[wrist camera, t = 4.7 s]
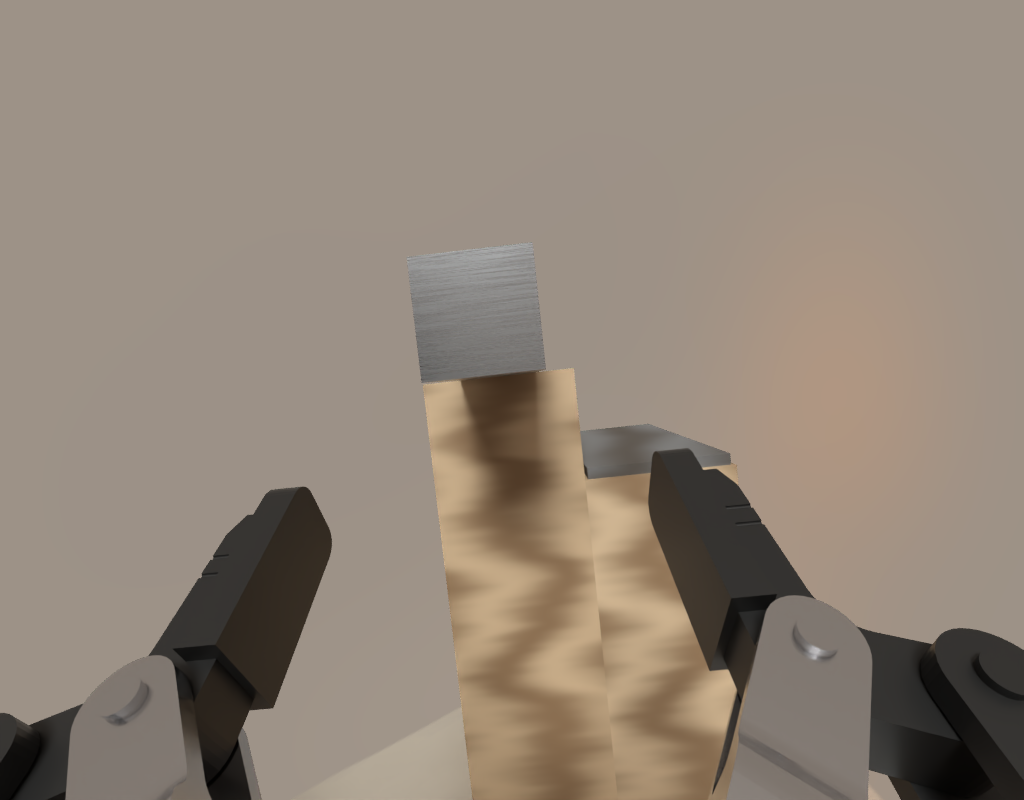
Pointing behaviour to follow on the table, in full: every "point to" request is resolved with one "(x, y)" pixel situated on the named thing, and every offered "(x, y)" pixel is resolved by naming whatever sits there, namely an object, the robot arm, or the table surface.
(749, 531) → the robot arm
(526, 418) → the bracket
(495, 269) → the grey metal bar
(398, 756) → the table surface
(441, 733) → the table surface
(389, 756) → the table surface
